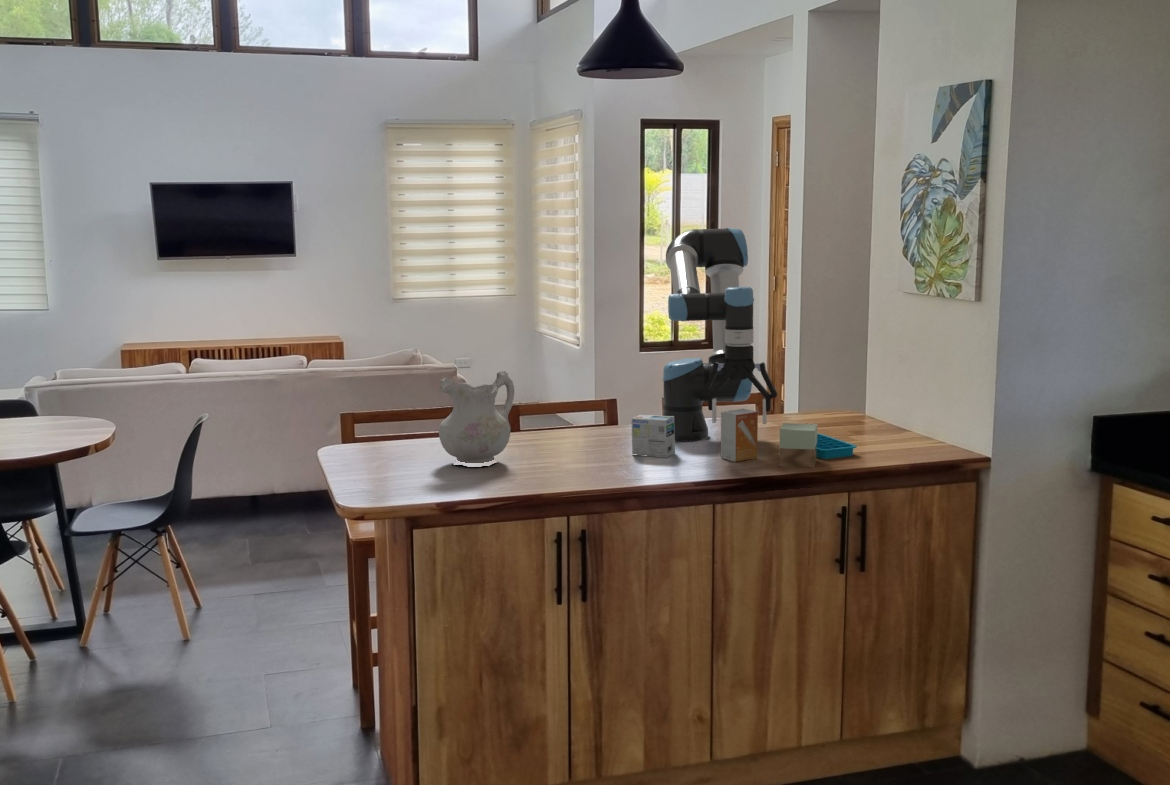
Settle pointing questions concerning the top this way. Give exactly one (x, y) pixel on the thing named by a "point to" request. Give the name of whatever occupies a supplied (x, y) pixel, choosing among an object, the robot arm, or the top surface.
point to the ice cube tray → (832, 447)
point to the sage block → (798, 436)
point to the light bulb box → (653, 435)
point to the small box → (739, 434)
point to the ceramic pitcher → (476, 420)
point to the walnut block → (797, 457)
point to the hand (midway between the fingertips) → (739, 422)
